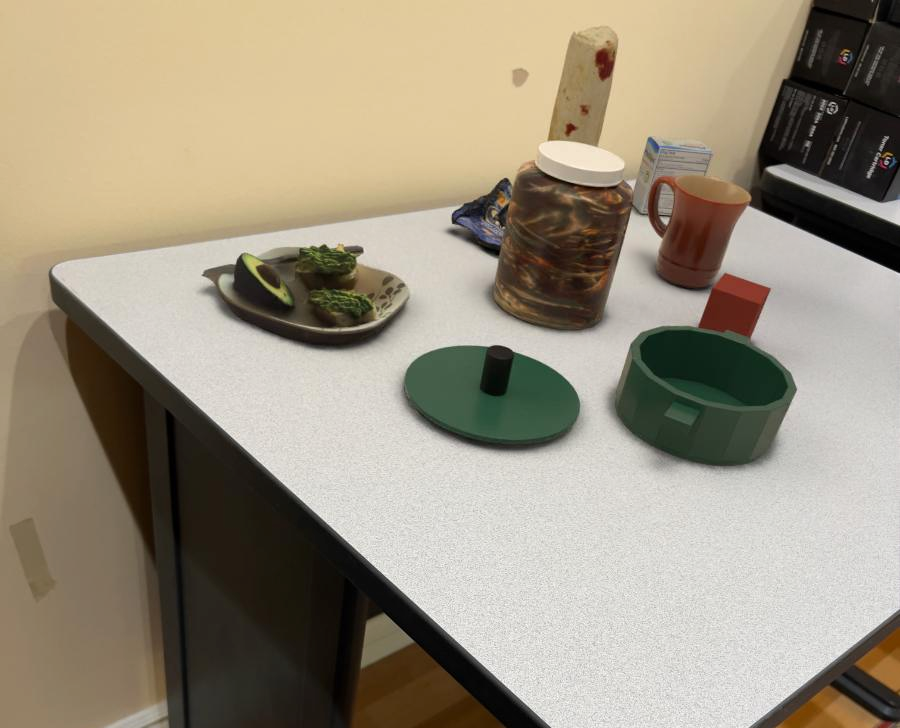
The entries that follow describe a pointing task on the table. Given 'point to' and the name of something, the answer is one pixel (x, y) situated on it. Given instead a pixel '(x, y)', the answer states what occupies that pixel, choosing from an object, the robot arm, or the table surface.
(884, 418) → the table surface
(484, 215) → the snack package
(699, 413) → the pot
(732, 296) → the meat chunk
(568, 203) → the jar
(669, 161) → the medicine box
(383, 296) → the plate of avocado toast
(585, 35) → the food model
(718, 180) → the mug
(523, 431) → the pot lid
